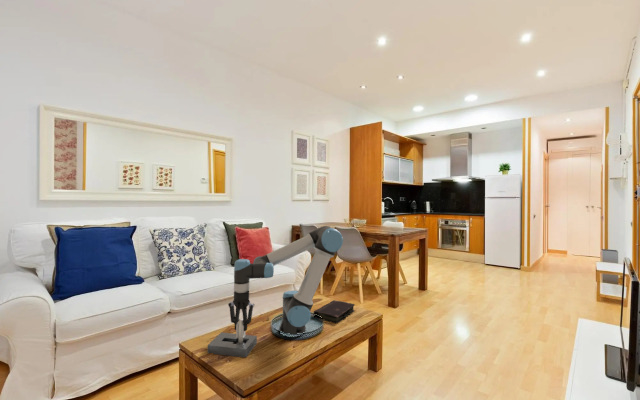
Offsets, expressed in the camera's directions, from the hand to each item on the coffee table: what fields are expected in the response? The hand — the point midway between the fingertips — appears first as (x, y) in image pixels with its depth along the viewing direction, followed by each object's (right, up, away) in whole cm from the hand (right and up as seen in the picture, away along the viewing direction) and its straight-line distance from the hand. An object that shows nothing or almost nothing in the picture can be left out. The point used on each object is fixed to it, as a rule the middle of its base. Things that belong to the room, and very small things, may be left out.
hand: (240, 336), depth 155 cm
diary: (+50, -7, +47) cm, 70 cm away
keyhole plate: (-4, -6, +1) cm, 8 cm away
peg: (0, -6, 0) cm, 5 cm away
